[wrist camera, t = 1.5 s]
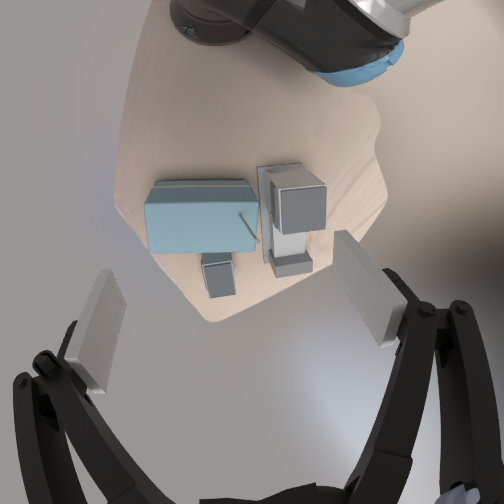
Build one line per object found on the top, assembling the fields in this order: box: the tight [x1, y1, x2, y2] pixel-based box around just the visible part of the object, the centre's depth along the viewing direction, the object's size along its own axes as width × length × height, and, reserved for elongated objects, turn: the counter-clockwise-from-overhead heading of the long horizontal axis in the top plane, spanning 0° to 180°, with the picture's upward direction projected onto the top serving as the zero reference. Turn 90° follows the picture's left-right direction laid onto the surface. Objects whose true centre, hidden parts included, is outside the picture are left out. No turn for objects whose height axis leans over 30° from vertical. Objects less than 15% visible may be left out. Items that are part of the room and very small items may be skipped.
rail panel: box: [257, 163, 305, 264], centre depth 52 cm, size 20×8×4 cm, turn 5°
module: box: [201, 252, 236, 298], centre depth 52 cm, size 7×5×8 cm
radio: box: [144, 180, 260, 254], centre depth 41 cm, size 16×9×20 cm, turn 86°
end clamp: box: [269, 249, 313, 278], centre depth 54 cm, size 2×7×6 cm, turn 95°
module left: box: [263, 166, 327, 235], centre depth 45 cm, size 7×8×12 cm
